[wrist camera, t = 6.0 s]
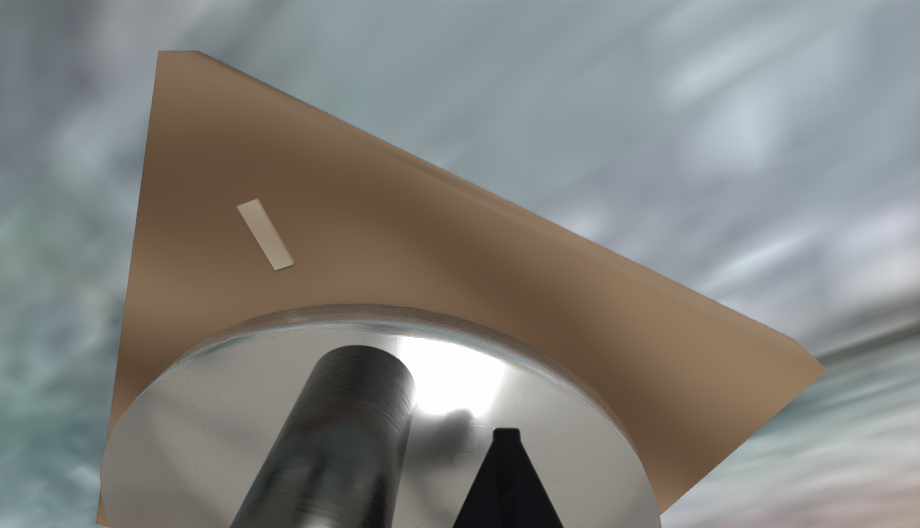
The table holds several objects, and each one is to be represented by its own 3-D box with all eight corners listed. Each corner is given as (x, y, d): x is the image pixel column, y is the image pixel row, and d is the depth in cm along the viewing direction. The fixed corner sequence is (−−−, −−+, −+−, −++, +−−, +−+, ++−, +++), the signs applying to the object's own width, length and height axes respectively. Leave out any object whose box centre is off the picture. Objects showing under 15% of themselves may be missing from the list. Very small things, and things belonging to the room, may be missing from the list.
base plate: (507, 611, 23) (509, 648, 21) (122, 490, 20) (94, 525, 18) (794, 339, 14) (829, 372, 13) (197, 50, 11) (155, 50, 10)
